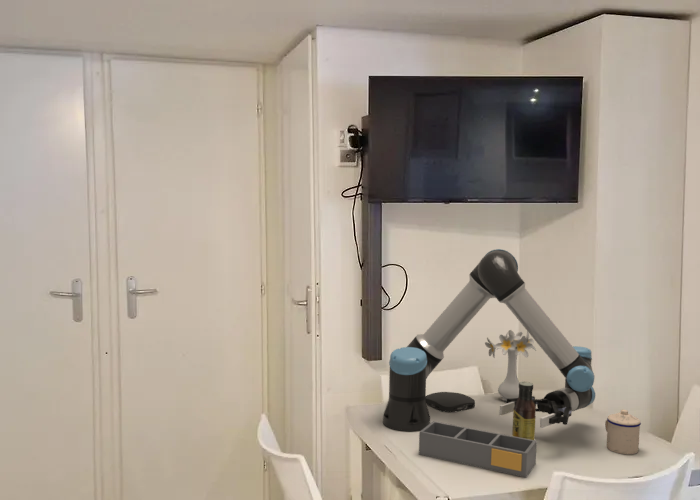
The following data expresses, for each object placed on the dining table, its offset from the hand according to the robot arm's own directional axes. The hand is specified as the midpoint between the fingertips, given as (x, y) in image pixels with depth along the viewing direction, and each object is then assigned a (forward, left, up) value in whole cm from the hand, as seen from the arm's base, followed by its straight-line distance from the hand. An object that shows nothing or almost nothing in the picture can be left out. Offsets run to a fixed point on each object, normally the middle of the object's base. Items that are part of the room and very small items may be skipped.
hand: (520, 416), depth 191 cm
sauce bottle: (+1, +2, -11) cm, 11 cm away
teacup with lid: (+25, +19, -11) cm, 33 cm away
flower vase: (-15, +47, -11) cm, 51 cm away
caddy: (-9, -11, -10) cm, 18 cm away
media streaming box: (-32, +31, -11) cm, 46 cm away
